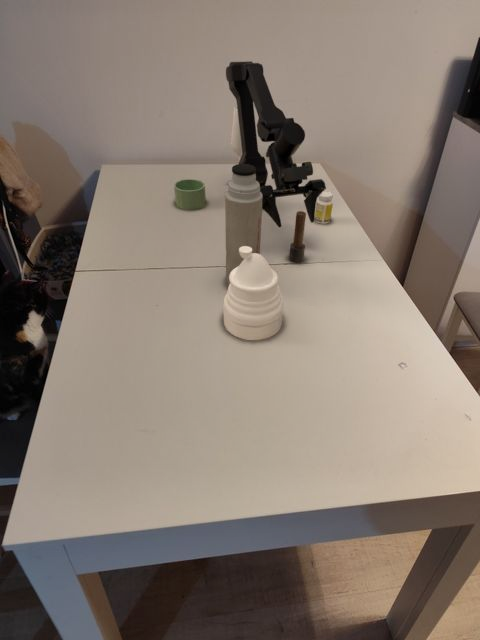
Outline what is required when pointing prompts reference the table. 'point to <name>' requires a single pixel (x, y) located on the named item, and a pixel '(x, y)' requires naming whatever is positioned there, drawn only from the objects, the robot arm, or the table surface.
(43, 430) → the table surface
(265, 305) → the honey pot
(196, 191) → the jar
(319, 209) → the supplement bottle
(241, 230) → the thermos bottle
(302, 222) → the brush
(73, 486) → the table surface
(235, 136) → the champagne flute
